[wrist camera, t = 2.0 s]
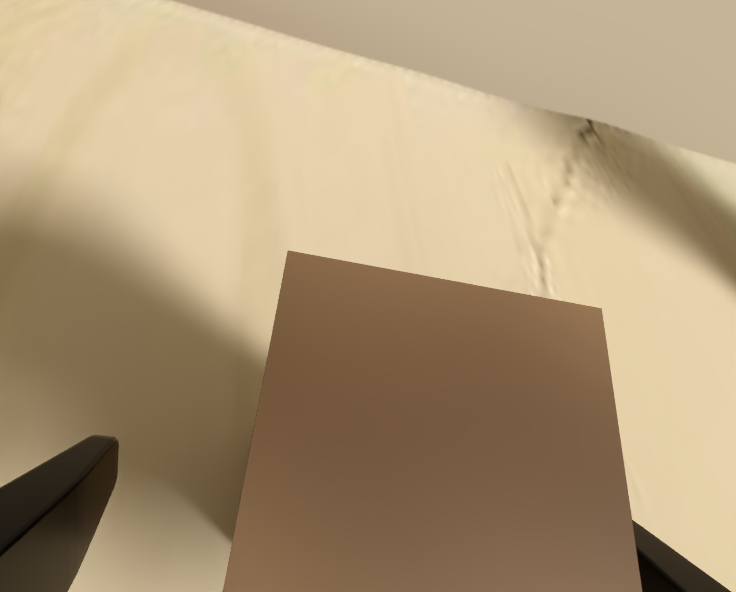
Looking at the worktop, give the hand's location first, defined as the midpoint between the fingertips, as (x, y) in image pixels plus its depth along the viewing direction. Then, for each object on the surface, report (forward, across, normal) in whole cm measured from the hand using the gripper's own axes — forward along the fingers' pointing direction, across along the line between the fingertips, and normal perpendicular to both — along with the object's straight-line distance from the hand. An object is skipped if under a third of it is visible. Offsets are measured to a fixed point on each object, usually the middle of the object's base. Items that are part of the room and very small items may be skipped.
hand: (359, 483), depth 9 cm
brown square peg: (+6, 0, +6) cm, 8 cm away
